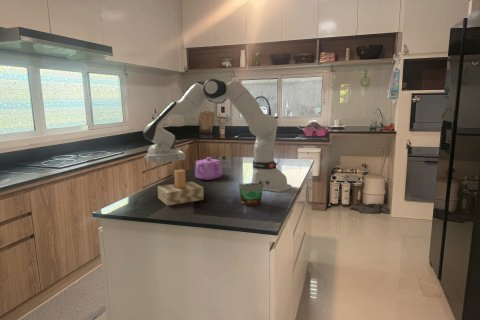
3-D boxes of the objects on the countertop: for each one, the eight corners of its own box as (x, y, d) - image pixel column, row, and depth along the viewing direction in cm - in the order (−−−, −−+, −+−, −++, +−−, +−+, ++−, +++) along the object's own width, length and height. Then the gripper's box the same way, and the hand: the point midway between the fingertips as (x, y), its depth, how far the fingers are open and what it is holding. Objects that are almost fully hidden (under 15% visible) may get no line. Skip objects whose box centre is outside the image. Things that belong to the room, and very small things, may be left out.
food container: (241, 208, 148) (241, 186, 146) (237, 204, 154) (237, 182, 152) (267, 205, 151) (268, 184, 150) (263, 201, 157) (263, 181, 155)
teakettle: (195, 180, 199) (195, 160, 197) (194, 174, 216) (194, 155, 213) (224, 179, 202) (223, 159, 200) (221, 173, 218) (221, 154, 216)
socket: (192, 192, 173) (192, 181, 172) (203, 199, 161) (203, 187, 160) (158, 197, 164) (157, 186, 163) (167, 205, 152) (166, 192, 151)
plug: (183, 197, 165) (182, 169, 163) (186, 199, 162) (185, 170, 159) (175, 198, 163) (174, 170, 161) (178, 200, 160) (177, 171, 157)
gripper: (142, 150, 176) (149, 154, 164) (179, 148, 186) (188, 151, 174) (142, 162, 177) (150, 167, 165) (179, 159, 187) (189, 163, 176)
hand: (170, 159), depth 170 cm, fingers open, 8 cm apart
